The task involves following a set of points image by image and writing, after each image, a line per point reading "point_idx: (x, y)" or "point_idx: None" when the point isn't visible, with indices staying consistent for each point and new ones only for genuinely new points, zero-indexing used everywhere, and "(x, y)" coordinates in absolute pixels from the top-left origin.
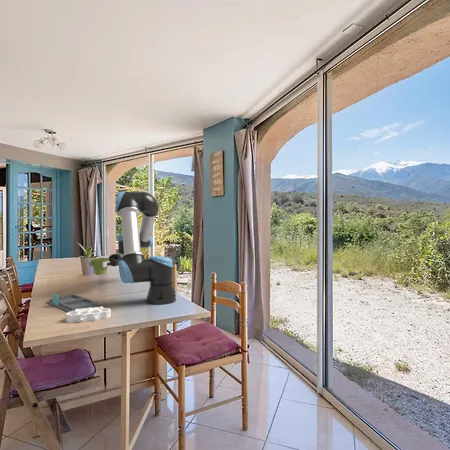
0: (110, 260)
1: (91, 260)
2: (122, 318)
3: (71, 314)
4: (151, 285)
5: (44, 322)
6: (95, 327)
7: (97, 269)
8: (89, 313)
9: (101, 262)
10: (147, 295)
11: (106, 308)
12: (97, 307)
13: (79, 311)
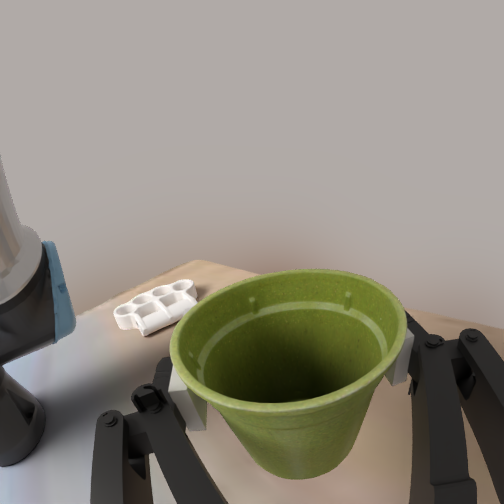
0: (157, 389)
1: (468, 330)
2: (95, 324)
3: (178, 281)
4: (3, 368)
5: (228, 279)
6: (129, 295)
7: (279, 364)
8: (147, 292)
9: (224, 319)
10: (31, 401)
11: (123, 315)
12: (148, 316)
13: (172, 291)
